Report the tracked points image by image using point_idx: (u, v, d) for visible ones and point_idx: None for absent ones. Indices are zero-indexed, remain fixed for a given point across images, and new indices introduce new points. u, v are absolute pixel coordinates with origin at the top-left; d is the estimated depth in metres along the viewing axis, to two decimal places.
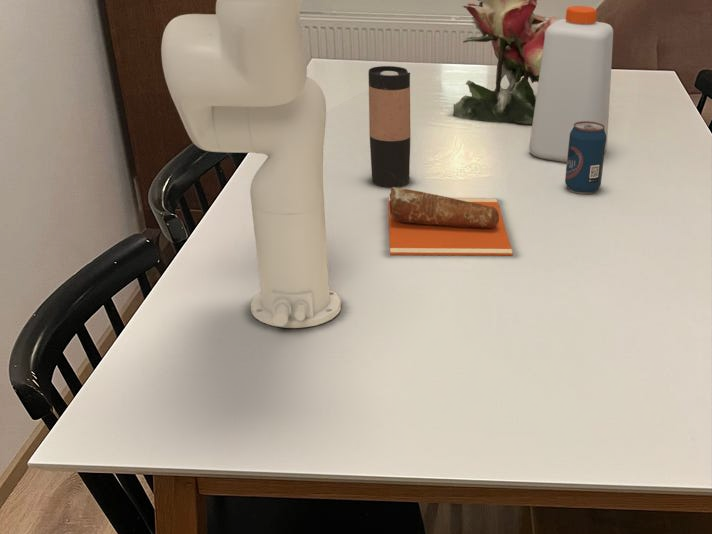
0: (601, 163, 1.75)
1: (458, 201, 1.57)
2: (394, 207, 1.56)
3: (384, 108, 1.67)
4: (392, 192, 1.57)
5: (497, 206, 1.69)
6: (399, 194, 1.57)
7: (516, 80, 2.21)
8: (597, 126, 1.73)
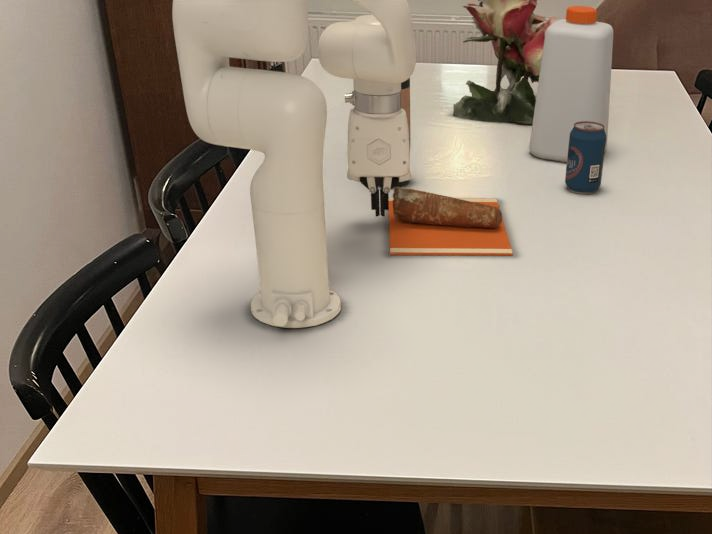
0: (601, 163, 1.75)
1: (461, 201, 1.57)
2: (397, 207, 1.56)
3: None
4: (395, 192, 1.57)
5: (497, 206, 1.69)
6: (403, 194, 1.57)
7: (516, 80, 2.21)
8: (597, 126, 1.73)
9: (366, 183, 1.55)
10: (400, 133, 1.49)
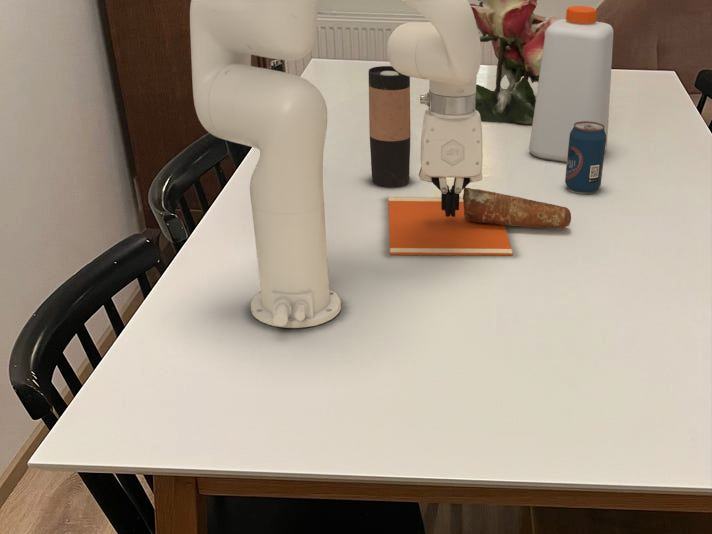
0: (601, 163, 1.75)
1: (531, 201, 1.59)
2: (468, 208, 1.58)
3: (384, 108, 1.67)
4: (466, 193, 1.58)
5: None
6: (473, 194, 1.58)
7: (516, 80, 2.21)
8: (597, 126, 1.73)
9: (438, 184, 1.56)
10: (474, 134, 1.50)
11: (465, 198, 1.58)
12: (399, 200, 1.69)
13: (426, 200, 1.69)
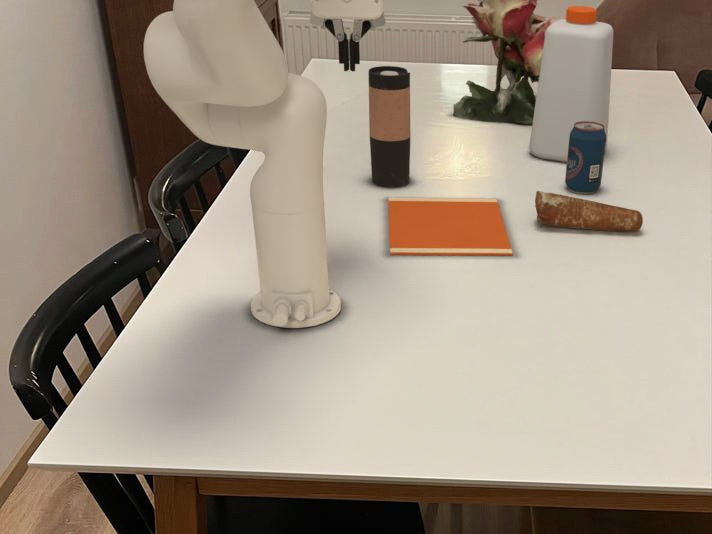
0: (601, 163, 1.75)
1: (604, 205, 1.60)
2: (542, 211, 1.59)
3: (384, 108, 1.67)
4: (539, 196, 1.60)
5: (497, 206, 1.69)
6: (546, 198, 1.59)
7: (516, 80, 2.21)
8: (597, 126, 1.73)
9: (332, 29, 1.32)
10: None
11: (538, 201, 1.59)
12: (399, 200, 1.69)
13: (426, 200, 1.69)
